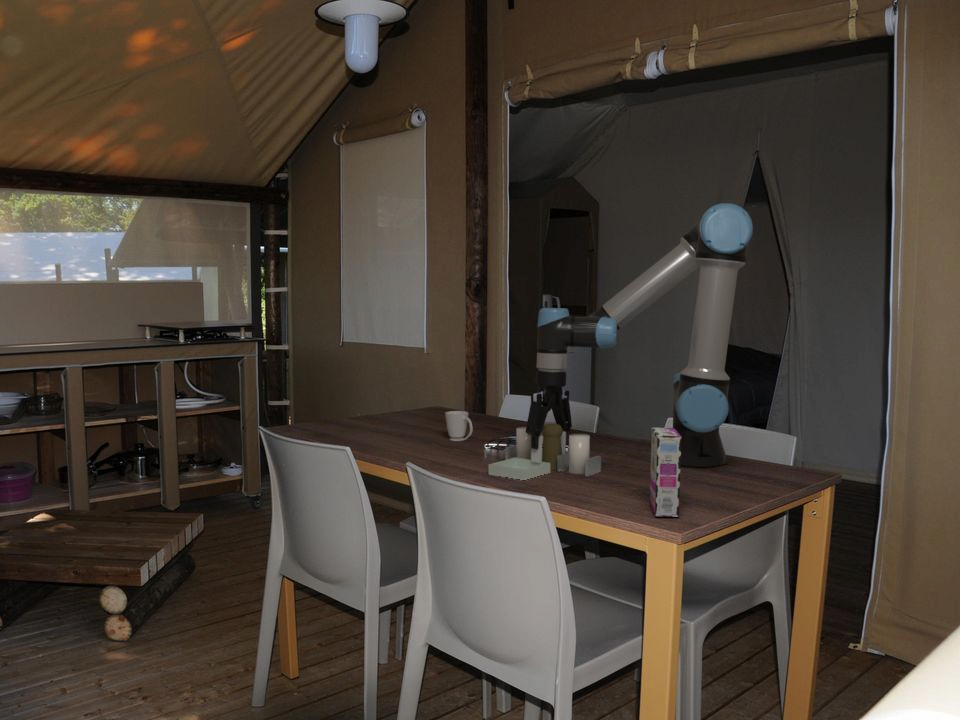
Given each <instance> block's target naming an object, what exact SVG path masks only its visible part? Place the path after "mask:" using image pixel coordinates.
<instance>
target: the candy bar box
mask: <svg viewBox="0 0 960 720" xmlns="http://www.w3.org/2000/svg"><path fill="white" fill-rule="evenodd" d="M681 439H682V437H681V436H680V435H679V434H678V432H677V431H676V430H675V429H674V428H673V427H651V443H650V444H651V446H650V448H651V449H650V476H649V477H650V482H649V505H650V508H651V507H652V508H651V509H652V513H653V512H654V513H653V515H654V514H655V515H654V517H655V516H663V517H679V518H680V500H681V499H680V492H681V466H682V465H681Z"/></svg>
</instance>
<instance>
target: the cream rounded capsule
mask: <svg viewBox="0 0 960 720" xmlns="http://www.w3.org/2000/svg"><path fill="white" fill-rule="evenodd" d="M530 429H531V428H530ZM515 431H516V435H515V436H516V438H515V439H516V440H515V441H516V443H515V445H516V458H522V459H529V460H531V435H528V434H527V433H526V426H521V427H516V429H515Z"/></svg>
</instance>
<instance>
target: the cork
mask: <svg viewBox="0 0 960 720" xmlns="http://www.w3.org/2000/svg"><path fill="white" fill-rule="evenodd" d="M562 433H563V430H562V427H561V426H560V425H559V424H545V425H544V426H543V429H542V435H543V436H544V441H543V448H542V462H548V463H550V471H557V455H560V454H562V447H561V439H560V437H561V436H562Z"/></svg>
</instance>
